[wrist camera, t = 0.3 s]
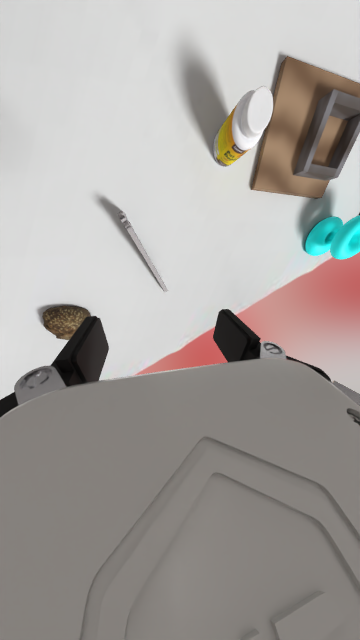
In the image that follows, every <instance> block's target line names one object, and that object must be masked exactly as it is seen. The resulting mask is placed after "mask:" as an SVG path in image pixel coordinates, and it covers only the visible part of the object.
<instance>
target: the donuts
mask: <svg viewBox="0 0 360 640" xmlns="http://www.w3.org/2000/svg"><path fill="white" fill-rule="evenodd" d="M305 249H306V252H307V253H308V254H309V255H312V256H318V255H321V254H323V253H325V252H327V251H328V250H330V252H331V255H332V256H333V257H334V258H336V259H346V258H349V257H352V256H353V255H355V254H357V253H358V252H360V215H359V216H356V217H354V218H352V219H351V220H349V221H348V222H347V223H345V224H344V225H343V222H342V220H341V219H340V218H338V217H328V218H326V219H324V220H322V221H321V222H319V223H318V224H317V225H316V226H315V227H314V228H313V229H312V230H311V232H310V234H309V235H308V237H307V240H306V244H305Z"/></svg>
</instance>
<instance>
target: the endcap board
mask: <svg viewBox="0 0 360 640" xmlns="http://www.w3.org/2000/svg"><path fill="white" fill-rule="evenodd" d="M359 132H360V84H359V83H357V82H354V81H351V80H349V79H346V78H344V77H341V76H338V75H336V74H333V73H330V72H328V71H325V70H322V69H320V68H317V67H315V66H312V65H309V64H307V63H304V62H301V61H299V60H296V59H294V58H291V57H288V56H287V57H286V58H285V60H284V61H283V62H282V63H281V67H280V71H279V76H278V80H277V84H276V88H275V92H274V96H273V111H272V115H271V118H270V121H269V123H268V125H267V126H266V130H265V134H264V138H263V142H262V146H261V150H260V155H259V159H258V163H257V167H256V171H255V175H254V180H253V184H252V188H251V190H257V191H265V192H272V193H279V194H287V195H294V196H302V197H309V198H316V199H317V198H322V196H323V194H324V192H325V189H326V187H327V185H328V183H329V181H330V180H331V179H334V178H337V177H338V176H339V174H340V172H341V170H342V168H343V166H344V164H345V162H346V159H347V157H348V155H349V153H350V151H351V149H352V147H353V145H354V143H355V141H356V138H357V136H358V134H359Z"/></svg>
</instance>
